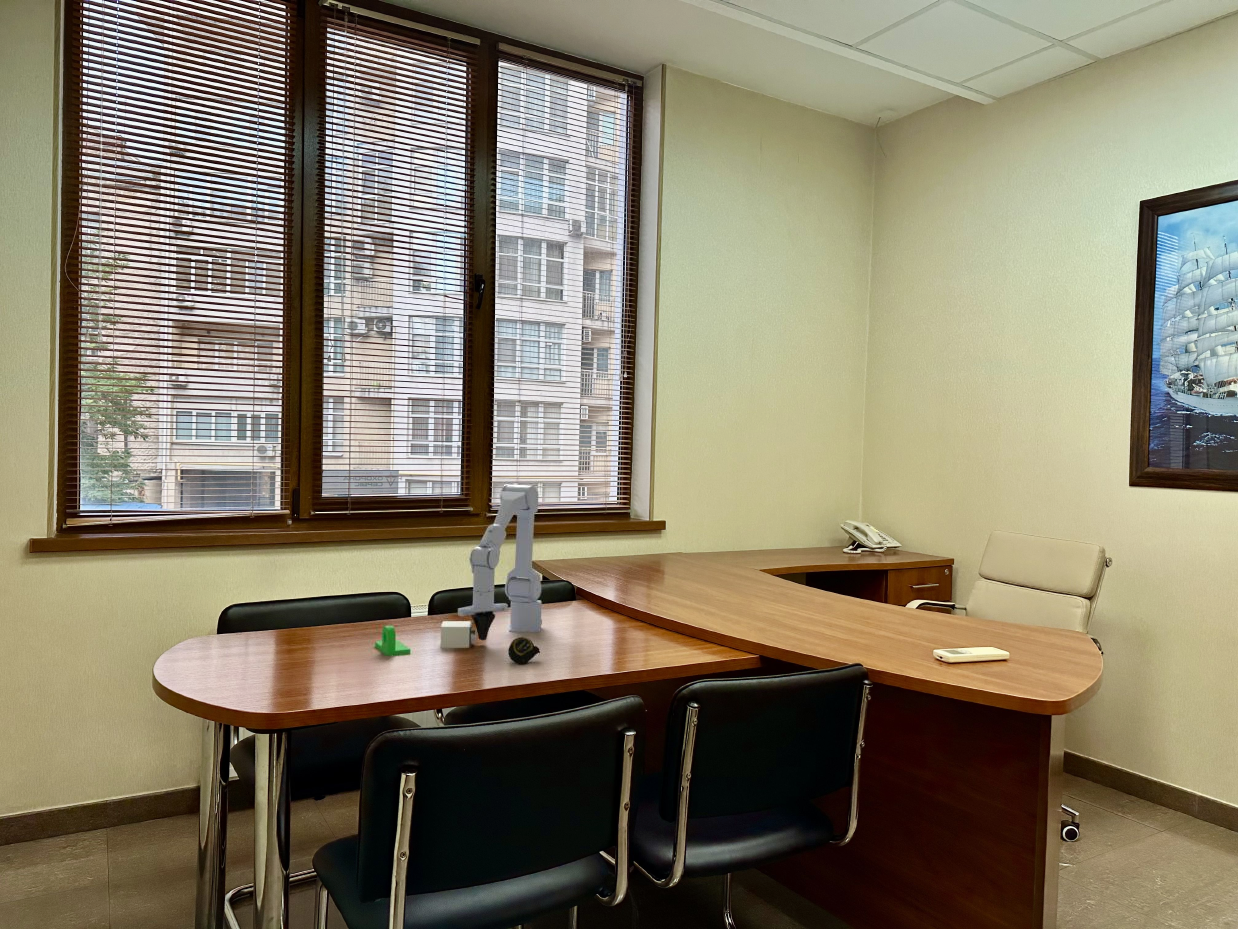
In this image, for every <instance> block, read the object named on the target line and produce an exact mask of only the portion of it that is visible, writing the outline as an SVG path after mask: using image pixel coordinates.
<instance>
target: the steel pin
mask: <svg viewBox="0 0 1238 929" xmlns="http://www.w3.org/2000/svg"><path fill="white" fill-rule="evenodd" d="M476 634H477V629H476V628H475V629H473V628H472V629H471V644H472V643H476V637H477V636H476Z"/></svg>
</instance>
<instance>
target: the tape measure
mask: <svg viewBox="0 0 1238 929" xmlns="http://www.w3.org/2000/svg"><path fill="white" fill-rule="evenodd" d="M507 649H508V650H507V651H508V652H507V653H508V654H507V655H508V657H509V659H510V660H511V661H512V662H513V663H515V664H517V665H519V666H525V665H527V664H528V663H529V662H530V661H531V660H532V659H534V658H535V656H537V655H538V654H541V651H540V648H539V647H538V646H537V645H535V644H534V643H533V641H532V640H531V639H529V638H527V637H523V636H521V637H516V638H514V639H513V640H512V641H511V643H510V645H509V646H508V648H507Z"/></svg>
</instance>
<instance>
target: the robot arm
mask: <svg viewBox="0 0 1238 929" xmlns="http://www.w3.org/2000/svg"><path fill="white" fill-rule="evenodd" d="M539 495H540V494H539V490H538V489H537V488H536V487H535V485H531V484H530V485H522V484H521V485H520V484H508V483H506V484H504V485H503V486H502V488H501V490H500V493H499V501H500V506H499V508H498V511H497V513H496V517H495V519H494V522H493V524H491V525H488V527H487V528H486V530H485V532H484V534H483V536H482V538H481V539H480V543H479V545H478V546H476V547H475V548H472V550H471V552H470V556H469V565H470V566H471V573H472V574H473V577H472V578H473V580H472V582H473V583H472V588H473V589H472V605H470V606H464V607H459V608H457V616H459V617H465V616H470V618H471V619H472V621H473V623H474V626H475V629H476V634H477V637H478V640H481V641H487V639H488V635H489V631H490V628H491V626H492V623H493V622H494V620H495V618H496V614H495V613H498V612H508V608H509V605H508V604H507V603H495V569H496V568H497V567H498V565H499V562H500V555H501V548H502V546H503V543H504V541H505V539H506V537H507V532H506V528H507V526H508V525H509V523H510V522H511V520H512V518H513V516H514V515H516V517H517V518H516V536H515V537H516V538H515V557H514V558H515V559H514V561H515V562H514V568H513V569H511V570H510V571H509V572H508V573H507V576H506V577H507V578H506V582H505V586H504V592H505V595H506V596H507V597H508V600H509V601H510V616H509V617H510V622H509V623H510V624H508V633H509V632H510V633H518V632H519V633H520V632H521V633H522V632H523V633H525V632H526V633H530V632H531V633H536V632H542V625H543V618H542V600H538V599H539V598H540V597H541V594H542V582H541V574H540V573H539V572H538V571H537V570H535V569H534V568H533V552H534V551H533V550H534V547H533V546H534V532H535V531H534V530H535V529H534V526H535V525H534V524H535V513H537V512H538V511H539V510H538V508H539Z"/></svg>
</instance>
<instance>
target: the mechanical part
mask: <svg viewBox="0 0 1238 929" xmlns="http://www.w3.org/2000/svg"><path fill="white" fill-rule="evenodd" d="M374 644H375V645H374V647H375V648H377V649H378V650H379V651H381V653H382V654H384V655H386V656H387V657H391V656H392V655H393V656H399V655H410V654H411V648H409V647H408V646H407V645H405V644H404V643H403V642H401V641H400V640H396V629H395V626H394V625H384V626H383V627H382V631H381V640H376V641H375V642H374Z"/></svg>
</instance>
